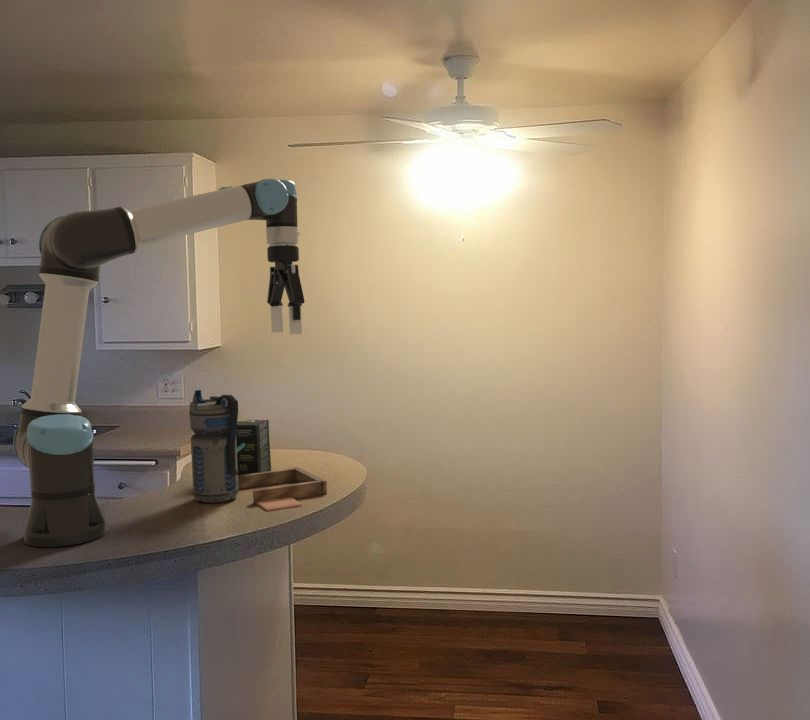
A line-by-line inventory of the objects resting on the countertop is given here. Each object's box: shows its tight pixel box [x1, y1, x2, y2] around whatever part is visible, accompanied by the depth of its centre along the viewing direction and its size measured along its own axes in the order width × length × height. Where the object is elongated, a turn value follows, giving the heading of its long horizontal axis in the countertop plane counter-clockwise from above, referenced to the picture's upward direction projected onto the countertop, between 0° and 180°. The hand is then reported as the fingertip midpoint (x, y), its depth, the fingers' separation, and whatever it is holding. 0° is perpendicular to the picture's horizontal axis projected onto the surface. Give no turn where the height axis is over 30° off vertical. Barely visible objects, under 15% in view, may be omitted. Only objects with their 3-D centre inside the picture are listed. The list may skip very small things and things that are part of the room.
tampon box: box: [236, 419, 272, 475], centre depth 211 cm, size 11×9×15 cm
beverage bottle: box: [189, 389, 239, 504], centre depth 189 cm, size 10×13×25 cm
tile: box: [256, 497, 303, 512], centre depth 184 cm, size 8×8×1 cm
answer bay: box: [238, 467, 328, 505], centre depth 197 cm, size 17×18×3 cm
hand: (286, 333), depth 202 cm, fingers open, 13 cm apart
